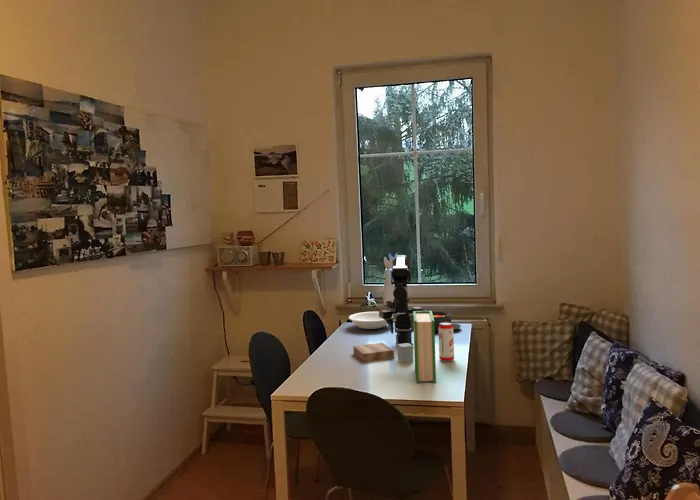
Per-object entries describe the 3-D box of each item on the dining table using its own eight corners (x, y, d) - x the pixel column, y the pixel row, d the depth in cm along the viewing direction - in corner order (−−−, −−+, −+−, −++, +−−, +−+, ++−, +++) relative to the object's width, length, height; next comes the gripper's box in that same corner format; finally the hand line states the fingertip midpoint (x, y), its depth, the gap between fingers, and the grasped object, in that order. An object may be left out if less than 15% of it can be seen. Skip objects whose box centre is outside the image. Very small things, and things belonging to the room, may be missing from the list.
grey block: (408, 358, 246) (408, 342, 246) (413, 361, 242) (412, 345, 241) (397, 360, 245) (397, 344, 244) (402, 363, 240) (401, 347, 239)
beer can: (455, 358, 243) (454, 322, 242) (453, 362, 237) (452, 325, 236) (440, 357, 245) (439, 321, 244) (438, 362, 239) (437, 324, 238)
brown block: (382, 351, 261) (382, 342, 261) (393, 359, 248) (393, 350, 248) (353, 354, 257) (353, 346, 257) (363, 363, 244) (363, 353, 244)
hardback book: (436, 383, 213) (434, 320, 211) (416, 383, 214) (414, 320, 211) (433, 368, 230) (431, 310, 228) (414, 369, 231) (413, 311, 229)
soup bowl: (365, 321, 322) (365, 310, 322) (402, 325, 308) (401, 313, 308) (340, 330, 303) (339, 318, 302) (378, 335, 289) (377, 322, 288)
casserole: (462, 326, 301) (461, 310, 301) (459, 334, 284) (458, 318, 283) (415, 325, 308) (415, 310, 307) (409, 333, 290) (409, 317, 290)
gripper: (413, 291, 252) (414, 326, 253) (373, 295, 246) (375, 331, 247) (424, 295, 241) (425, 331, 242) (383, 299, 235) (384, 336, 237)
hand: (402, 332), depth 243 cm, fingers open, 9 cm apart
